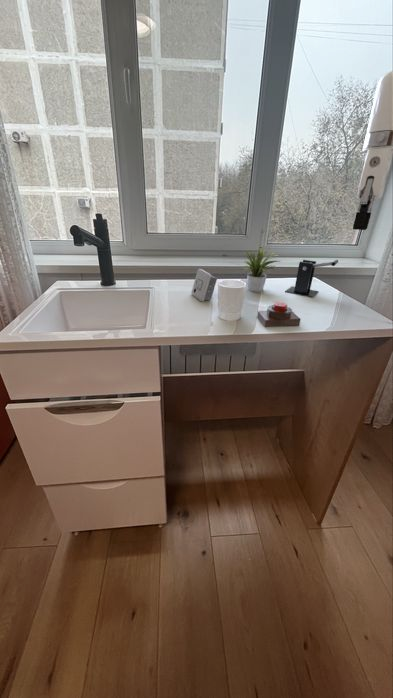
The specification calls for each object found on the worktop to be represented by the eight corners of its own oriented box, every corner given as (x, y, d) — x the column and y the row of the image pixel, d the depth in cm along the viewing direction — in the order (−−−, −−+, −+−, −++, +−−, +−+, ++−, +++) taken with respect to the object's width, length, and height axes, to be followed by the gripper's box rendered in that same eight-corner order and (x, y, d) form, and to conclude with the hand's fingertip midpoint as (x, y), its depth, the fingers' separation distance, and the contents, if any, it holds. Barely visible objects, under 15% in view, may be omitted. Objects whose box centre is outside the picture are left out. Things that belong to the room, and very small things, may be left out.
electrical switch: (190, 294, 103) (193, 268, 98) (203, 294, 105) (207, 268, 100) (201, 302, 95) (204, 274, 91) (214, 302, 97) (218, 275, 93)
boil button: (283, 307, 82) (284, 301, 81) (288, 312, 79) (289, 306, 78) (271, 307, 82) (272, 302, 81) (275, 312, 79) (276, 306, 78)
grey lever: (338, 264, 97) (338, 257, 96) (335, 267, 93) (335, 260, 92) (305, 269, 103) (304, 262, 102) (301, 272, 100) (300, 265, 99)
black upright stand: (318, 294, 106) (325, 261, 100) (312, 300, 100) (320, 265, 94) (291, 289, 110) (297, 257, 105) (284, 294, 105) (290, 261, 99)
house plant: (252, 301, 97) (258, 251, 89) (226, 290, 107) (230, 244, 99) (281, 294, 104) (289, 248, 96) (254, 285, 114) (260, 242, 106)
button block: (289, 316, 86) (291, 304, 84) (299, 326, 80) (302, 312, 78) (257, 317, 85) (258, 304, 83) (264, 327, 79) (266, 313, 77)
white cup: (210, 316, 85) (212, 283, 80) (226, 309, 90) (229, 278, 85) (232, 324, 80) (235, 289, 75) (247, 316, 85) (251, 283, 80)
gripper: (400, 137, 59) (373, 233, 67) (401, 146, 70) (378, 228, 78) (359, 140, 62) (338, 230, 71) (367, 148, 73) (348, 226, 82)
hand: (359, 229), depth 75 cm, fingers closed
